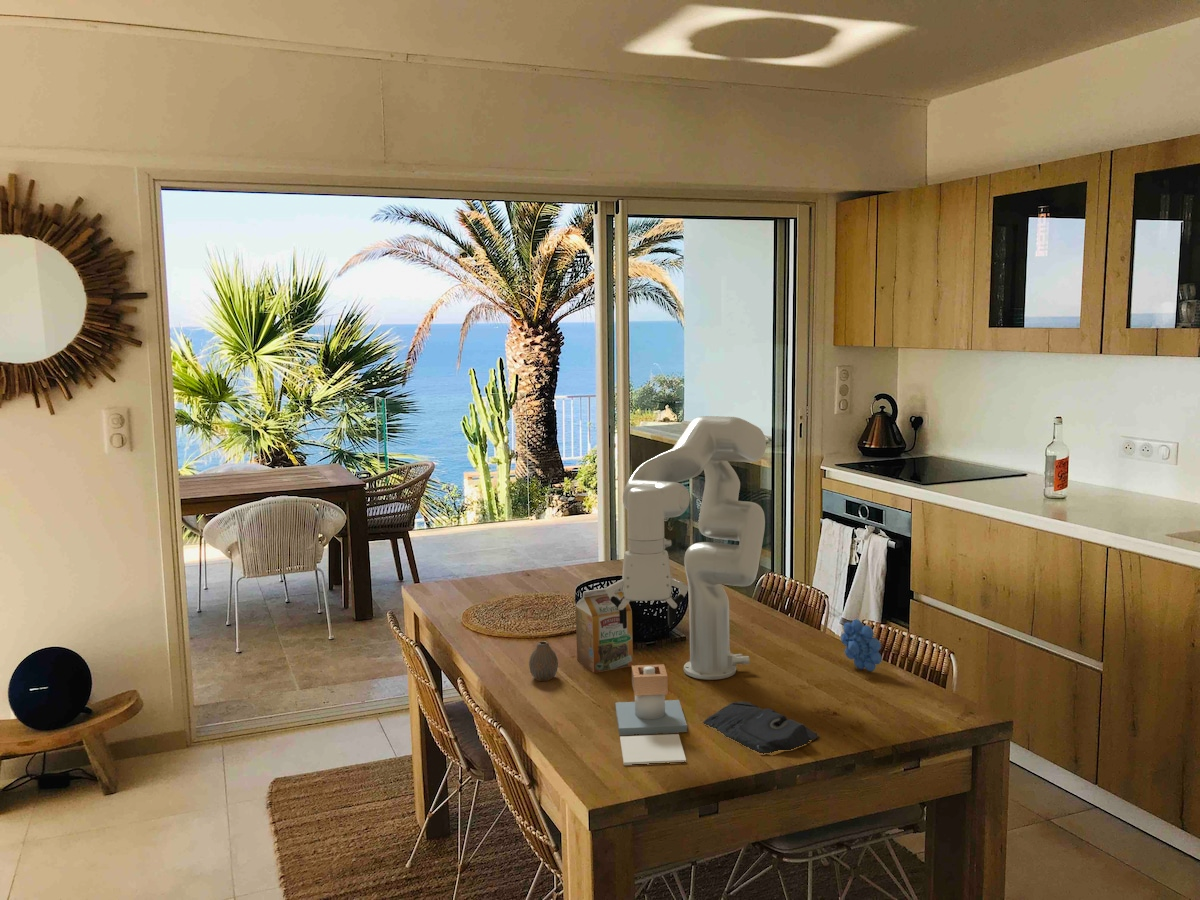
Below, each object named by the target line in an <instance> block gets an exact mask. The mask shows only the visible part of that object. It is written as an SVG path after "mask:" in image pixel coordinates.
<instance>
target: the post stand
mask: <svg viewBox="0 0 1200 900" xmlns="http://www.w3.org/2000/svg"><path fill="white" fill-rule="evenodd" d="M646 674H655V668H654V667H651V666H648V667H644V675H646ZM614 706H615V714H616V722H617V728H618V735H619V736H638V735H637V734H639V735H659V734H658V733H663V734H680V733H679V732H687V733H688V724H687V721H686V718H685V714H684V711H683V708H682V705H681V702H680V700H679V699H669V700H668V699H666V694H663V695H638V696H634V701H619V702H618V701H617V702H615V705H614ZM634 734H636V735H634Z"/></svg>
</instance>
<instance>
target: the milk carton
mask: <svg viewBox="0 0 1200 900" xmlns="http://www.w3.org/2000/svg"><path fill="white" fill-rule="evenodd" d="M614 594H615V596H616V597H617V598H618V599H619V600H620V599H621V598H622V597H623V596H624V594H623V591H622V587H621V588H619V589H617V590H616V591H614ZM626 611H627V628H626V629H623V624H620V623H619V608H618V607H617V606H616V605H614V604H613V603H612V602H611V600H610V598H609V596H608V594H607V593H606V587H604V588H597V589H592V590H585V591H583V593H582V598H580V599H578V601H577V602H576V604H575V629H576V630H575V631H576V632H575V633H576V660H577V662H579V663H581V665H583V667H586V668H587V669H588V670H590V671H591V672H593V674H595V673H601V672H607V671H612V670H617V669H625V668H628V667H632V666H634V649H633V648H634V646H633V645H634V644H633V641H634V640H633V611H632V608H631V605H630V602H629V603H628V604H627V605H626Z"/></svg>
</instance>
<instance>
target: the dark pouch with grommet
mask: <svg viewBox="0 0 1200 900" xmlns="http://www.w3.org/2000/svg"><path fill="white" fill-rule="evenodd" d="M703 723H704V724H706V725H709V726H710V727H713V728H716V729H717V731H720V732H721V733H723V734H724V735H725V736H726V737H729V738H731V739H733V740H735V741H737V742H739V743H741V744H742V745H744V746H746V747H749V748H750V749H752V750H755V751H757V752H759V753H763V754H764V753H770V752H771V753H772V752H774V751H778V750H791V749H794V748H796V747H799V746H802V745H804V744H807V743H808V742H810V741H809V740H813V739H814V740H817V739H819V738H818V737H819V735H818V733H817V732H815V731H813V730H811V729H810V728H808V727H807V726H806V725H805V724H804V723H800V722H797V721H795V720H794V719H793V718H792V719H788V718H787V716H786V715H784V714H781V713H779V712H777V711H775V710H773V709H771V708H761V707H759V706H758V705H756V704H754V703H751V702H749V701H746V700H745V701H735V702H731V703H728V705H726V706H725V707H723V708H721V709H719V710H718V711H717V712H715V713H713V714H711V715H709V716H708V717H707V718H706V719H705V720H703V722H702V724H703ZM704 724H703V725H704ZM706 725H705V726H706ZM725 736H724V737H725ZM726 737H725V738H726ZM816 738H817V739H816ZM814 740H813V741H814ZM810 743H811V742H810ZM742 745H741V746H742ZM807 745H808V744H807Z"/></svg>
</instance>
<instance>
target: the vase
mask: <svg viewBox="0 0 1200 900" xmlns="http://www.w3.org/2000/svg"><path fill="white" fill-rule="evenodd" d="M528 666H529V672H530V673H531V675H532V677H533V678H534V679H536V680H537V681H541V682H547V681H551V680H552V679H554V677H555V676H556V675H557V672H558V670H559V669H558V668H559V661H558V655H557V653H556V652H555V651H554V650H553V648H552V647H551V646H550V645H549V642H548V641H543V640H542V641H538V642H537V645H536V646H535V648H534V650H532V652H531V654H530V657H529V661H528Z"/></svg>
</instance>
